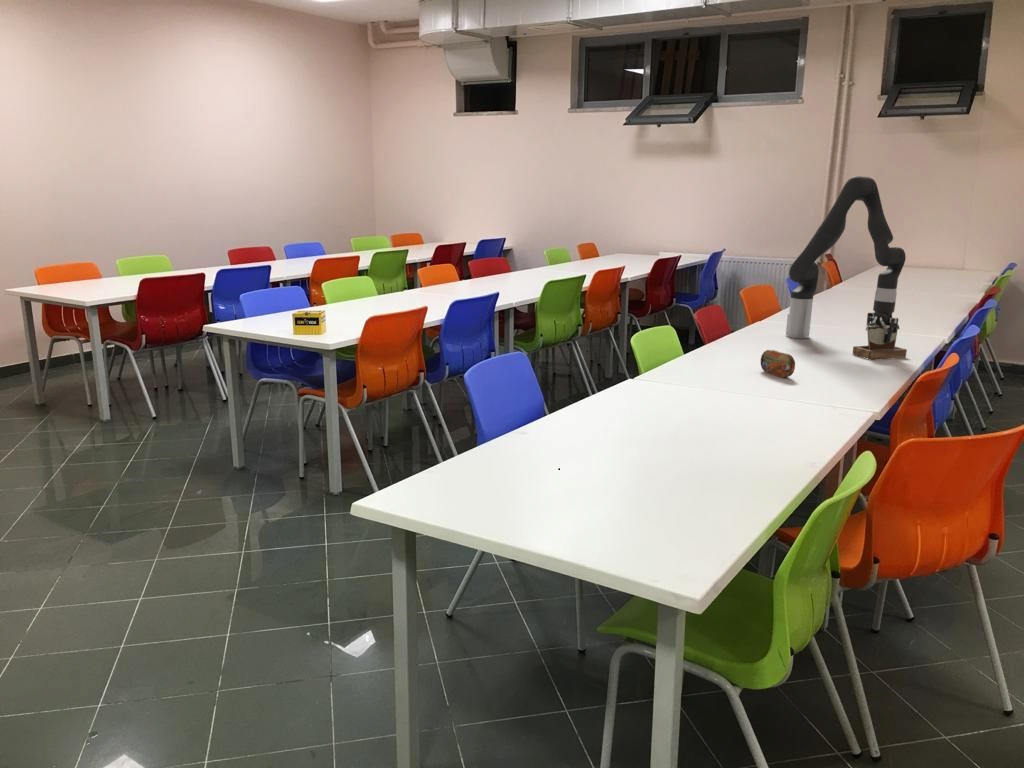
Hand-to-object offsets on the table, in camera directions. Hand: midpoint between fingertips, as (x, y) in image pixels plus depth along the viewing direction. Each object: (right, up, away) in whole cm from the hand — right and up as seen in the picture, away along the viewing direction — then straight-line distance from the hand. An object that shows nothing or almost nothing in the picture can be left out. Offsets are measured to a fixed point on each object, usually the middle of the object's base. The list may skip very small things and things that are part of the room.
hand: (879, 341), depth 311 cm
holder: (0, -6, +1) cm, 6 cm away
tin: (-50, -14, -30) cm, 60 cm away
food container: (0, -3, +1) cm, 3 cm away
